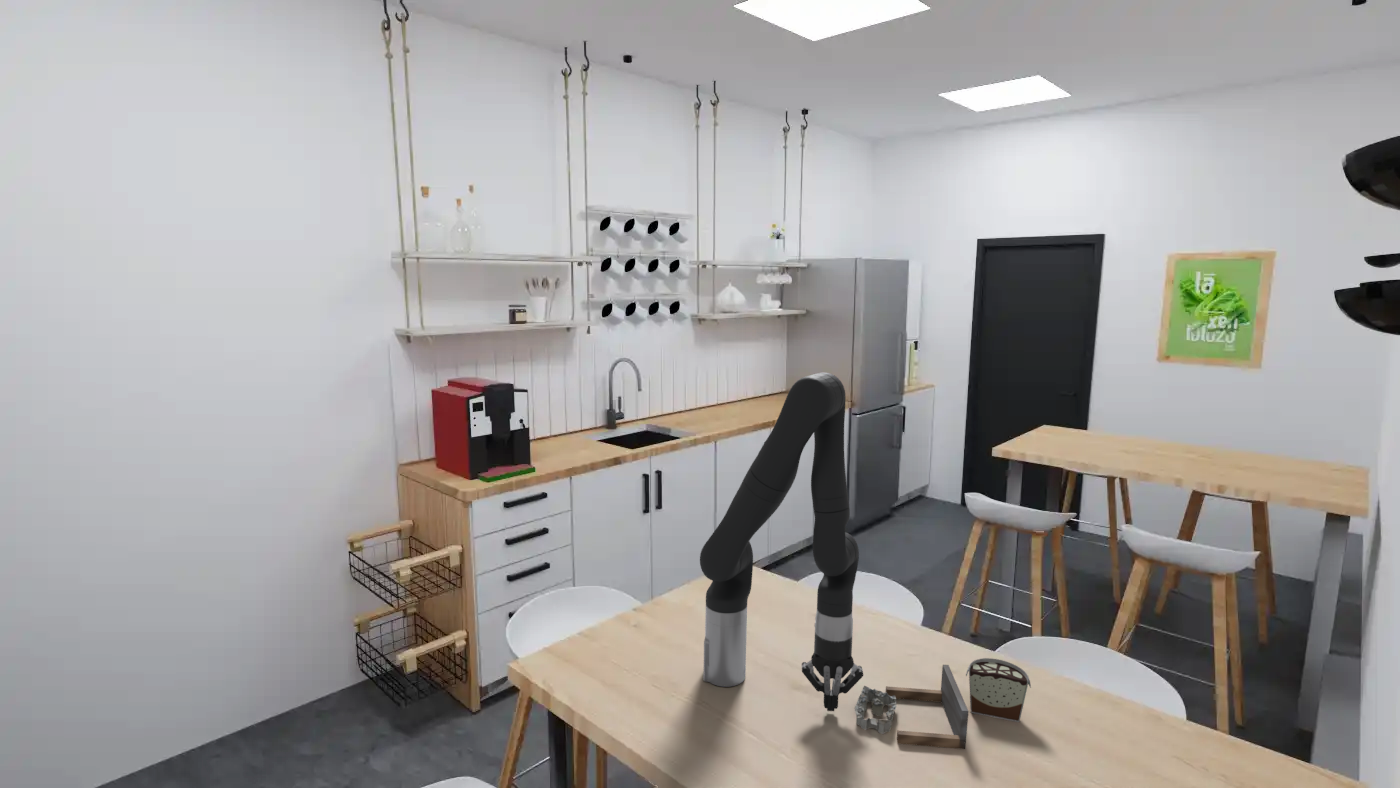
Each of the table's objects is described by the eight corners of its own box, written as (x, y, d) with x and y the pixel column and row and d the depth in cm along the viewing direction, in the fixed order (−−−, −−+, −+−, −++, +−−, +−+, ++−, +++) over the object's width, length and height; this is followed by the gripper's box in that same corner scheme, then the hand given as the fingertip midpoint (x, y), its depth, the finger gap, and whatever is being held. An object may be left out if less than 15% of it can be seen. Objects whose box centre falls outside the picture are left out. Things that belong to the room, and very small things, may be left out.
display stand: (897, 743, 138) (900, 705, 136) (885, 694, 154) (887, 660, 152) (965, 749, 136) (968, 711, 135) (945, 699, 152) (948, 664, 151)
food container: (1024, 706, 150) (1028, 663, 149) (1027, 723, 144) (1031, 678, 143) (962, 695, 154) (965, 652, 152) (962, 711, 148) (966, 666, 147)
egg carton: (889, 738, 140) (890, 719, 139) (851, 727, 143) (852, 709, 142) (898, 708, 149) (899, 690, 149) (862, 699, 152) (863, 681, 152)
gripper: (801, 637, 141) (798, 717, 144) (869, 641, 140) (865, 722, 142) (800, 620, 148) (797, 696, 151) (864, 623, 147) (861, 700, 150)
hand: (830, 708), depth 147 cm, fingers closed
